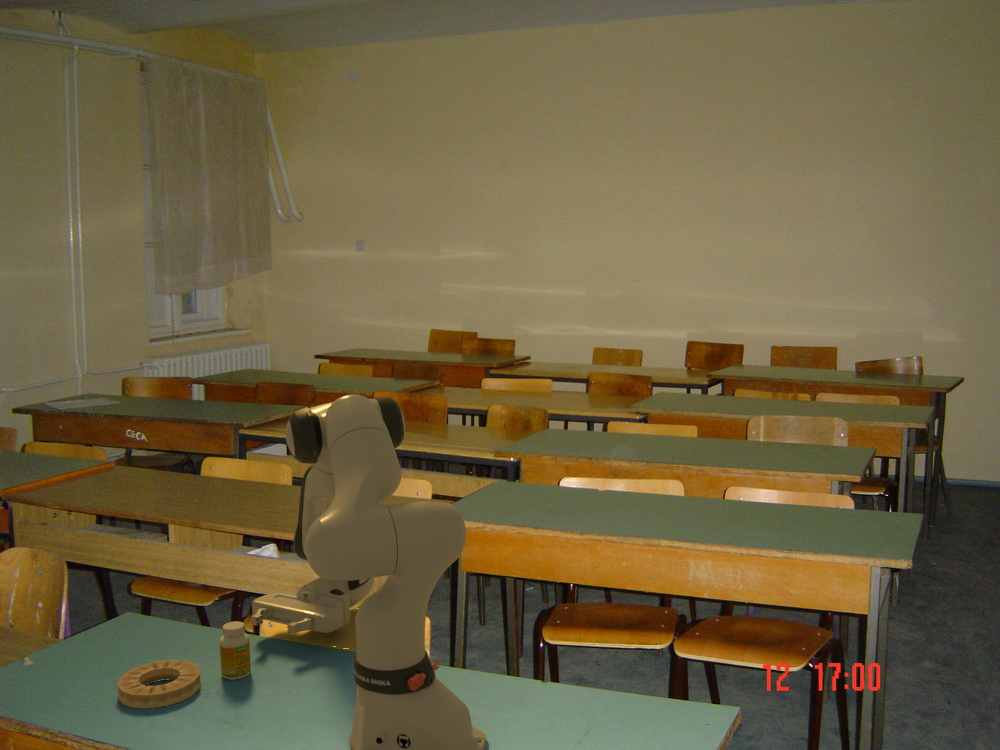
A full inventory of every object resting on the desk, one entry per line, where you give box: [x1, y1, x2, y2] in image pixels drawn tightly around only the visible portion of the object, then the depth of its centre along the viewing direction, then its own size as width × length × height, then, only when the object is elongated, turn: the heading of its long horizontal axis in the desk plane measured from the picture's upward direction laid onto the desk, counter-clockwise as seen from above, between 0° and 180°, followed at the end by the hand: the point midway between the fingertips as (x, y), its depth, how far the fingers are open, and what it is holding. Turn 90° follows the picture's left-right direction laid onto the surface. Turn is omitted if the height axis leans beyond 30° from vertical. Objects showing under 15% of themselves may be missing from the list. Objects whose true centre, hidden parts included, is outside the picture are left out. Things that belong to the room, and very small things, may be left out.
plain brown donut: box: [117, 659, 201, 710], centre depth 170 cm, size 14×14×2 cm
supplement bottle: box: [219, 621, 252, 681], centre depth 175 cm, size 5×5×10 cm
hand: (271, 625), depth 184 cm, fingers open, 8 cm apart
